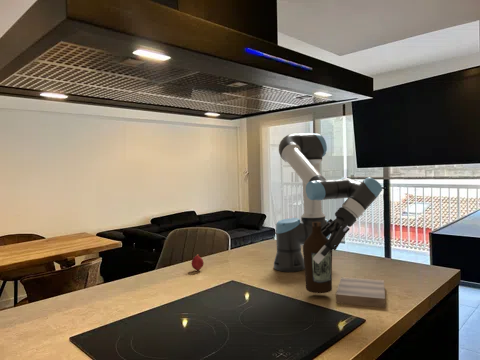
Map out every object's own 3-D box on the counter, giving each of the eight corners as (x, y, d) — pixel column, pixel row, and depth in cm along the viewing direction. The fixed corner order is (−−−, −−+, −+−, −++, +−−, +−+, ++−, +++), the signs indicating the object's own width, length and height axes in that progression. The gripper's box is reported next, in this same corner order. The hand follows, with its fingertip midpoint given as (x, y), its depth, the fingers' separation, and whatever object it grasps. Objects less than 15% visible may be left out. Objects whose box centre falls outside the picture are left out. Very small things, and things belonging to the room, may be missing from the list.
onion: (192, 272, 167) (191, 256, 166) (191, 269, 172) (190, 253, 172) (204, 271, 168) (203, 255, 167) (203, 268, 173) (202, 252, 173)
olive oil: (300, 285, 134) (298, 221, 133) (326, 283, 135) (324, 219, 134) (309, 295, 124) (307, 225, 122) (338, 292, 125) (336, 223, 124)
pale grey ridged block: (341, 284, 141) (341, 277, 141) (384, 287, 135) (383, 280, 135) (336, 302, 123) (335, 294, 123) (385, 307, 117) (385, 298, 117)
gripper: (371, 224, 119) (329, 273, 118) (342, 215, 142) (307, 256, 140) (356, 209, 118) (313, 258, 117) (330, 203, 141) (293, 244, 140)
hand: (310, 257), depth 129 cm, fingers closed on olive oil, 10 cm apart
